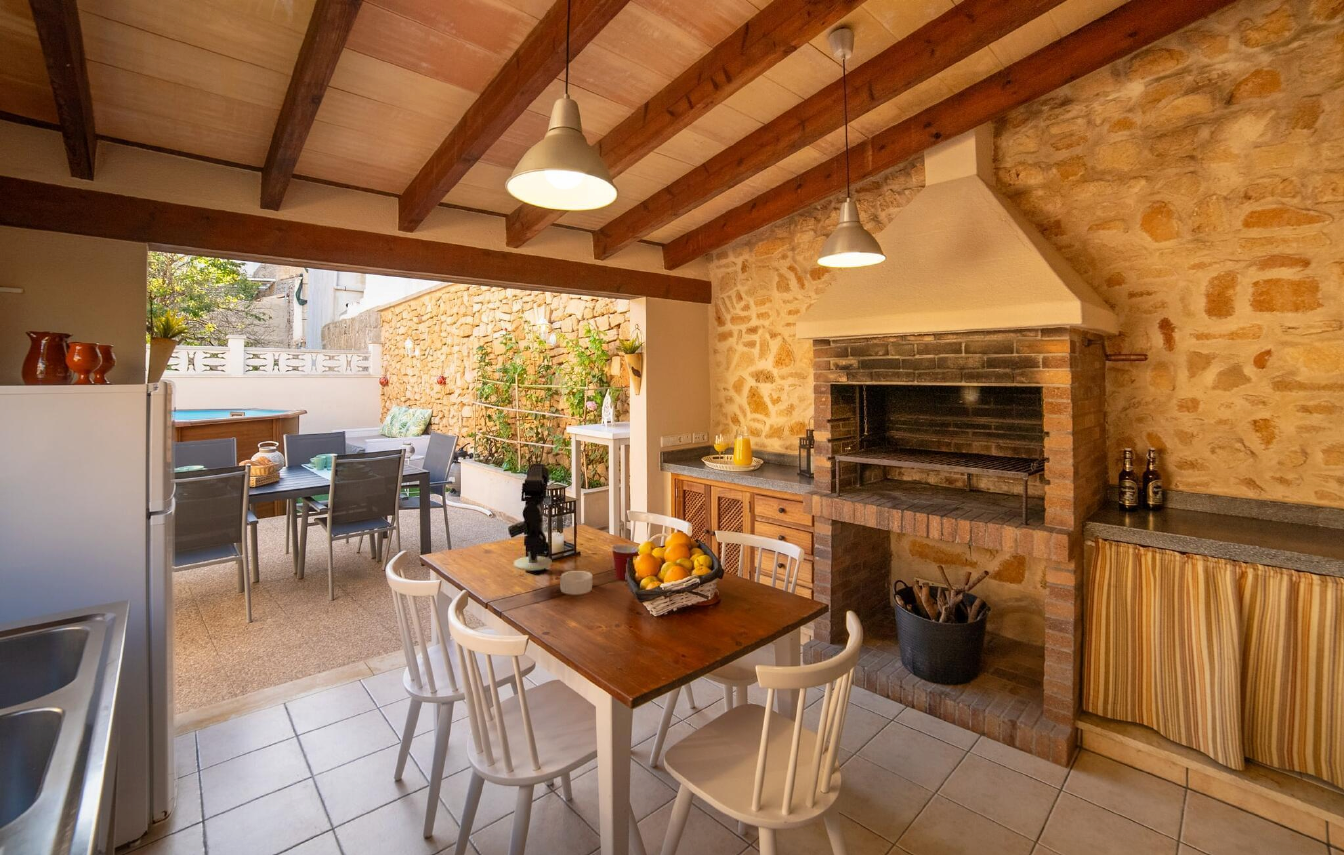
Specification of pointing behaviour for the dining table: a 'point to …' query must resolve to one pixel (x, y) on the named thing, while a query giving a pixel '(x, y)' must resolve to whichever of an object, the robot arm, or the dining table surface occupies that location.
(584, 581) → the bowl
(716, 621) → the dining table surface
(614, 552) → the plastic cup
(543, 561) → the lid
